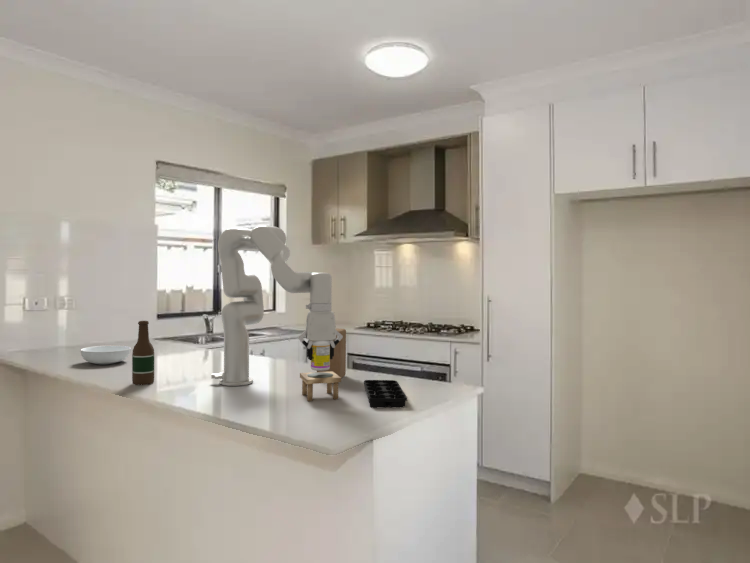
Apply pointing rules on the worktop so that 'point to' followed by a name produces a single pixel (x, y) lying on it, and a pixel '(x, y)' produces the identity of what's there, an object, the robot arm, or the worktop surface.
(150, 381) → the beer bottle
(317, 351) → the supplement bottle
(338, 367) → the wooden block
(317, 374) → the footstool
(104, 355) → the serving bowl
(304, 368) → the worktop surface
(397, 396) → the egg carton
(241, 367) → the robot arm
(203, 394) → the worktop surface
